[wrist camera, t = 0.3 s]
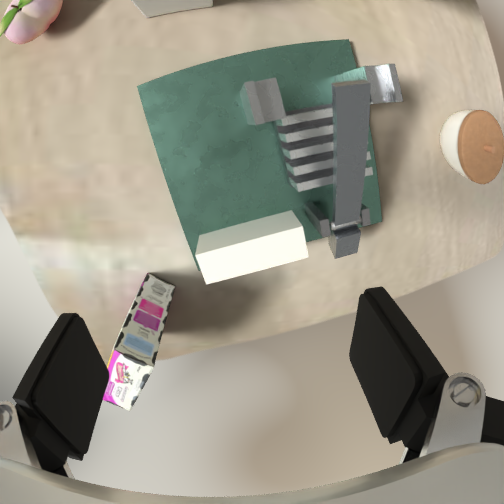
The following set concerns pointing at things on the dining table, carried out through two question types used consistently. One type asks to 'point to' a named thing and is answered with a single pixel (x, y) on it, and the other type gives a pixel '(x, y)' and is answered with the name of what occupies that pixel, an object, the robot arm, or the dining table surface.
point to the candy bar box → (138, 342)
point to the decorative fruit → (28, 19)
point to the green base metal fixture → (259, 136)
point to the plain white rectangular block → (251, 247)
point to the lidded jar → (473, 145)
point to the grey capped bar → (348, 162)
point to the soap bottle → (169, 6)
